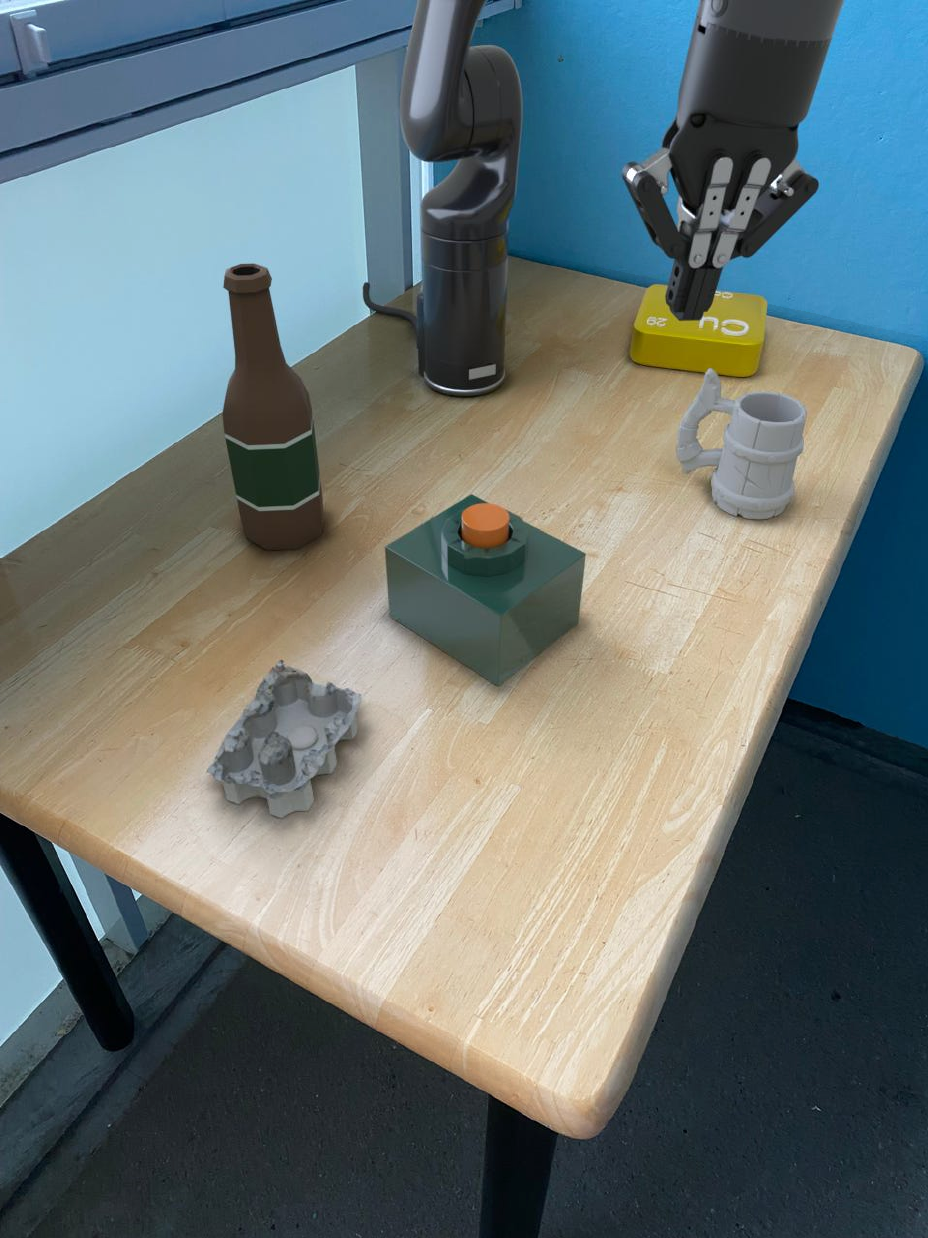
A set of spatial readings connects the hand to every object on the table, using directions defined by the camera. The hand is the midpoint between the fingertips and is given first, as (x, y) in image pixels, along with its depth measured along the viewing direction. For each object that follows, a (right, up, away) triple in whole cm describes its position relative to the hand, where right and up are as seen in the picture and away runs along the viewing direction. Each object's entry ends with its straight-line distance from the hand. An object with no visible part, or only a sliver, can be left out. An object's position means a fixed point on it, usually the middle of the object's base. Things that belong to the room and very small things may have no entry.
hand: (683, 315), depth 63 cm
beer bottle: (-31, -12, +23) cm, 41 cm away
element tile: (+14, +13, +52) cm, 56 cm away
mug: (+11, -9, +28) cm, 31 cm away
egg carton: (-27, -30, +3) cm, 41 cm away
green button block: (-13, -21, +14) cm, 28 cm away
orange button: (-13, -14, +8) cm, 21 cm away
